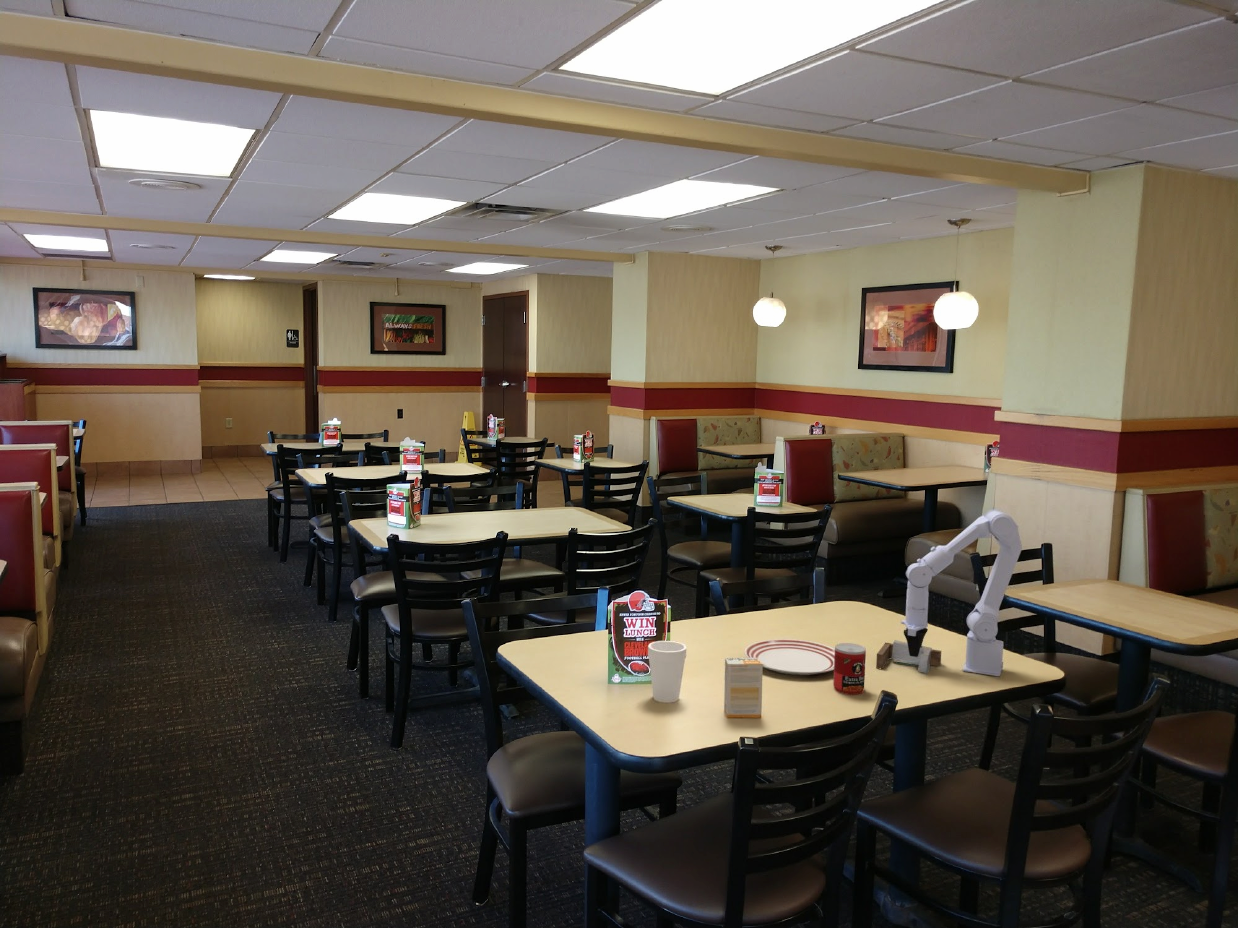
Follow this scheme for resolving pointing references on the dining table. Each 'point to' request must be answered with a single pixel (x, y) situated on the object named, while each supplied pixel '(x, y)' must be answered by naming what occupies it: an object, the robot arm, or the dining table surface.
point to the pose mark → (911, 665)
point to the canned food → (849, 668)
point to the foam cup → (666, 669)
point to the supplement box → (743, 687)
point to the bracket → (903, 655)
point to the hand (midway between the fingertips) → (914, 654)
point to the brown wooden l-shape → (887, 653)
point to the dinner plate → (793, 656)
